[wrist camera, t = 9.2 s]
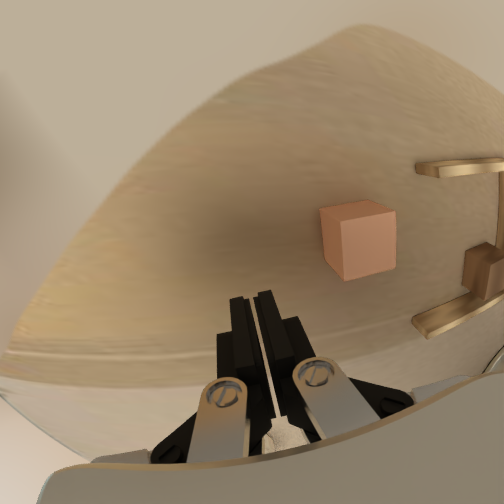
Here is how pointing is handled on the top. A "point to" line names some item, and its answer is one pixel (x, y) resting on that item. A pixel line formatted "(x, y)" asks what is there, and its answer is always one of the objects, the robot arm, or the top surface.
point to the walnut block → (484, 270)
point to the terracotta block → (359, 238)
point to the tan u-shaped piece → (471, 303)
